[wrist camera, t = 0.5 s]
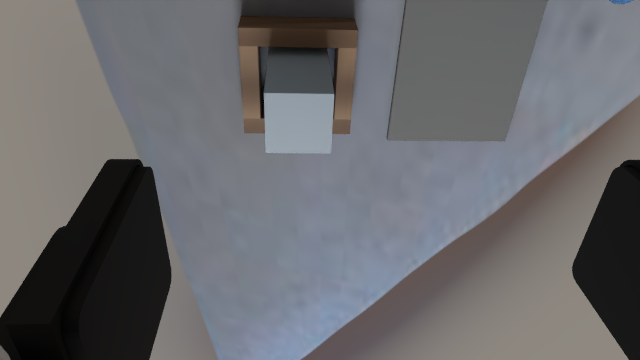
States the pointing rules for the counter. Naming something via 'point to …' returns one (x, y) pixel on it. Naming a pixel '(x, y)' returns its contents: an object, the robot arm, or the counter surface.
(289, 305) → the counter surface
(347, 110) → the pocket holder
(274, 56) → the block
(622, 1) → the grapes
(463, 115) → the mat
